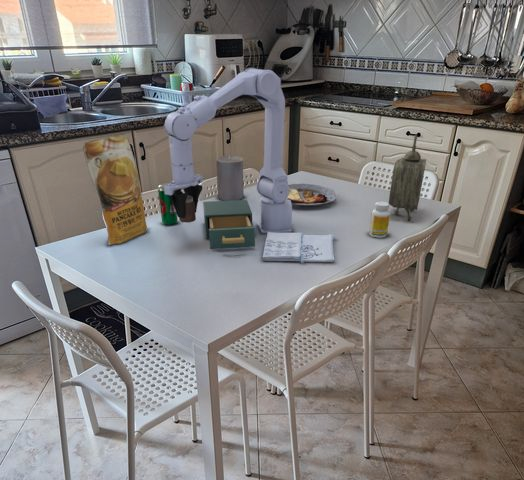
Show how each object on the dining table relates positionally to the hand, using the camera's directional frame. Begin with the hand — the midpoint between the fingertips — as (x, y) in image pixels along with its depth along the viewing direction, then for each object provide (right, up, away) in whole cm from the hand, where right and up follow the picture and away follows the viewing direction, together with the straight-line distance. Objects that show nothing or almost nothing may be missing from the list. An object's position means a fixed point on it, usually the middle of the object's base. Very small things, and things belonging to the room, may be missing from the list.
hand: (187, 214), depth 134 cm
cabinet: (+10, 0, +17) cm, 19 cm away
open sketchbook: (+32, -9, +3) cm, 33 cm away
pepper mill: (0, -1, +1) cm, 2 cm away
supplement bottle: (+56, -3, +13) cm, 58 cm away
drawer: (+12, -6, +6) cm, 15 cm away
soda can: (-9, +3, +22) cm, 24 cm away
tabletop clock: (+68, +7, +28) cm, 74 cm away
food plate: (+36, +17, +42) cm, 58 cm away
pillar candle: (+9, +19, +45) cm, 50 cm away
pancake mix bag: (-20, -3, +12) cm, 24 cm away
